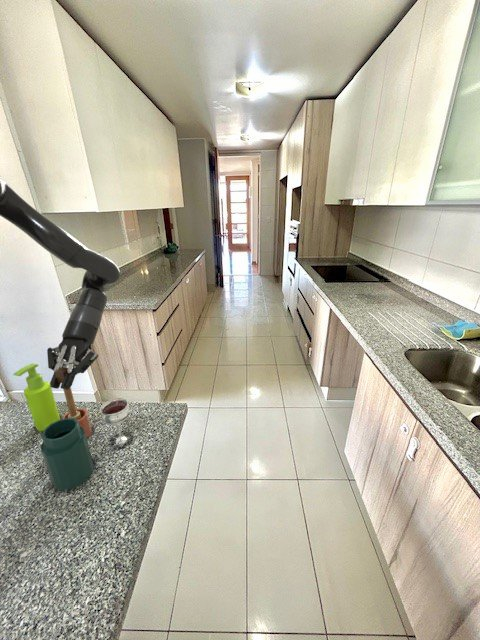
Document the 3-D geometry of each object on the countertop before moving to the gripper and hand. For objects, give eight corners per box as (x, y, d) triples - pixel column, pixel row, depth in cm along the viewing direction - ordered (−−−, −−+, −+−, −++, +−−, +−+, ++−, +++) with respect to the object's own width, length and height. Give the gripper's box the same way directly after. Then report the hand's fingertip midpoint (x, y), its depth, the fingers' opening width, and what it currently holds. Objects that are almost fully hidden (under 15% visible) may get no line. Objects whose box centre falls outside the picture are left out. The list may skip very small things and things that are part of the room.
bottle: (44, 488, 58) (26, 441, 53) (71, 458, 66) (58, 413, 61) (77, 494, 57) (63, 445, 52) (101, 462, 65) (90, 417, 60)
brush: (70, 435, 71) (52, 372, 64) (77, 427, 73) (61, 366, 66) (79, 436, 71) (62, 373, 63) (86, 428, 73) (71, 367, 66)
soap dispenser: (27, 432, 73) (5, 372, 66) (49, 416, 80) (32, 359, 72) (44, 436, 72) (24, 375, 65) (65, 419, 78) (48, 361, 71)
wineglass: (102, 443, 70) (94, 407, 66) (125, 428, 75) (119, 394, 71) (116, 456, 66) (108, 419, 62) (139, 439, 72) (133, 404, 67)
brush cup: (62, 442, 70) (56, 422, 68) (77, 427, 76) (72, 407, 73) (82, 445, 69) (76, 424, 67) (96, 429, 75) (91, 409, 72)
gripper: (50, 317, 69) (21, 383, 62) (99, 320, 67) (74, 388, 60) (69, 328, 76) (45, 388, 69) (114, 331, 74) (94, 393, 67)
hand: (59, 388), depth 64 cm, fingers closed on brush, 2 cm apart
